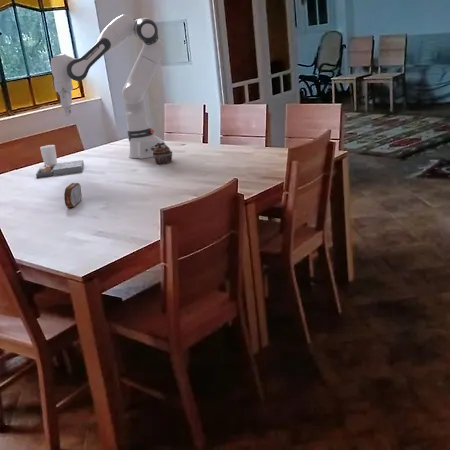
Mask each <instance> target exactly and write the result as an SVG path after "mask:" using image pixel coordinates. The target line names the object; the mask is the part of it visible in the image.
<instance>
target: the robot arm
mask: <svg viewBox="0 0 450 450" xmlns="http://www.w3.org/2000/svg"><path fill="white" fill-rule="evenodd" d="M132 36H135V37H136V38H138V40H141V41H142V48H141V50H140V52H139V54H138V56H137V58H136V60H135V62H134V64H133V67H132V68H131V71H130V72H129V74H128V77H127V79H126V81H125V84H124V85H123V88H122V90H121V97H122V100H123V104H124V110H125V118H126V119H125V120H126V126H127V138H128V139H127V140H128V141H129V154H128V157H129V158H130V159H148V158H152V157H153V158H154V156H153V150H154V149H155V148H154V146H155V145H157V143H165V141H164V140H163V138H161V137H159V136H157V135H155V134H154V133H155V130H154V129H153V128H151V127H149V121H148V114H147V105H146V99H145V94H146V91H147V89H148V88H149V86H150V83H151V80H152V79H153V77H154V75H155V72H156V70H157V68H158V66H159V64H160V62H161V59H162V56H163V54H164V50H165V44H164V42H163V41H162V40H161V39H159V30H158V25H157V24H156V22H155V21H154V20H152V19H151V18H149V17H138V18H132V17H131V15H129V14H126V13H125V14H124V13H123V14H121V15H119V16H117V17H116V18H114V19H113V20H112V21H111V22H110V23H109V24H108V25H106V26H105V27H104V29H103V30H102V31H101V33H100V34H99V35H98V37H97V39H96V42H95V43H94V45H92V46H91V48H90V49H88V50H87V52H86V51H85V53H84V54H83V55H82V56H81V57H78V58H75V57H72V56H69V55H67V54H65V53H60V54H58V55H54V56H52V57H51V59H50V68H51V74H52V76H53V77H52V78H53V85H54V90H55V91H54V92H55V93H58V96H59V98H60V105H61V108H62V109H64V112H65V116H66V117H69V116H70V114H71V113H72V109H71V108H72V107H71V105H72V104H73V97H72V91H73V90H74V87H73V86H74V85H73V82H72V81H76V82H80V81H83V80H85V78H86V77H87V76H88V73H89V71H90V69H91V67H92V66H94V65H95V64H96V63H97V62H98V60H100V59H101V58H102V57H103V56H105V54H109V52H112V51H113V50H116V49H118V47H119V46H121V45H122V44H123V43H124V42H125V41H126V40H128V38H130V37H132ZM165 144H166V143H165ZM170 151H171V149H170ZM171 152H172V151H171Z"/></svg>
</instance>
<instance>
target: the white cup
mask: <svg viewBox="0 0 450 450" xmlns="http://www.w3.org/2000/svg"><path fill="white" fill-rule="evenodd" d="M39 150H40V153H41V157H42V161H43V164H44V166H45V165H50V166H55V165H56V164H57V163H58V158H57V157H58V156H57V151H56V145H55V144H47V145H43V146H40V149H39Z"/></svg>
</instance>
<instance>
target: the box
mask: <svg viewBox="0 0 450 450" xmlns="http://www.w3.org/2000/svg"><path fill="white" fill-rule="evenodd" d="M50 166H51V172H48V173H46V172H43V173H41V172H40V168H39V169H38V170H37V172H36V174H35V175H36V176H35V177H36V179H42V178H49V177H54V173H53V169H54V167H55V165H50Z"/></svg>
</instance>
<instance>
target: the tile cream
mask: <svg viewBox="0 0 450 450" xmlns="http://www.w3.org/2000/svg"><path fill="white" fill-rule="evenodd" d="M45 167H46V166H41V167H40V168H39V169H40V172H41V173H43V172H46V169H45Z"/></svg>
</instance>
